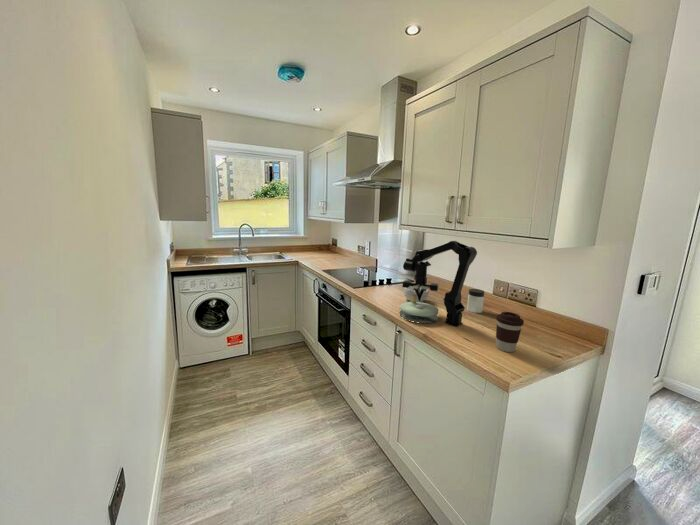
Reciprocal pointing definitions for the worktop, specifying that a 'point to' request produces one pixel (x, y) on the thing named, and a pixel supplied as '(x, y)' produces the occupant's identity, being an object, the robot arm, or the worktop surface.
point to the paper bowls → (410, 291)
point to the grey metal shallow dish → (419, 318)
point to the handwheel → (418, 308)
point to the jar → (475, 300)
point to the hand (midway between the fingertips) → (419, 300)
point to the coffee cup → (508, 331)
